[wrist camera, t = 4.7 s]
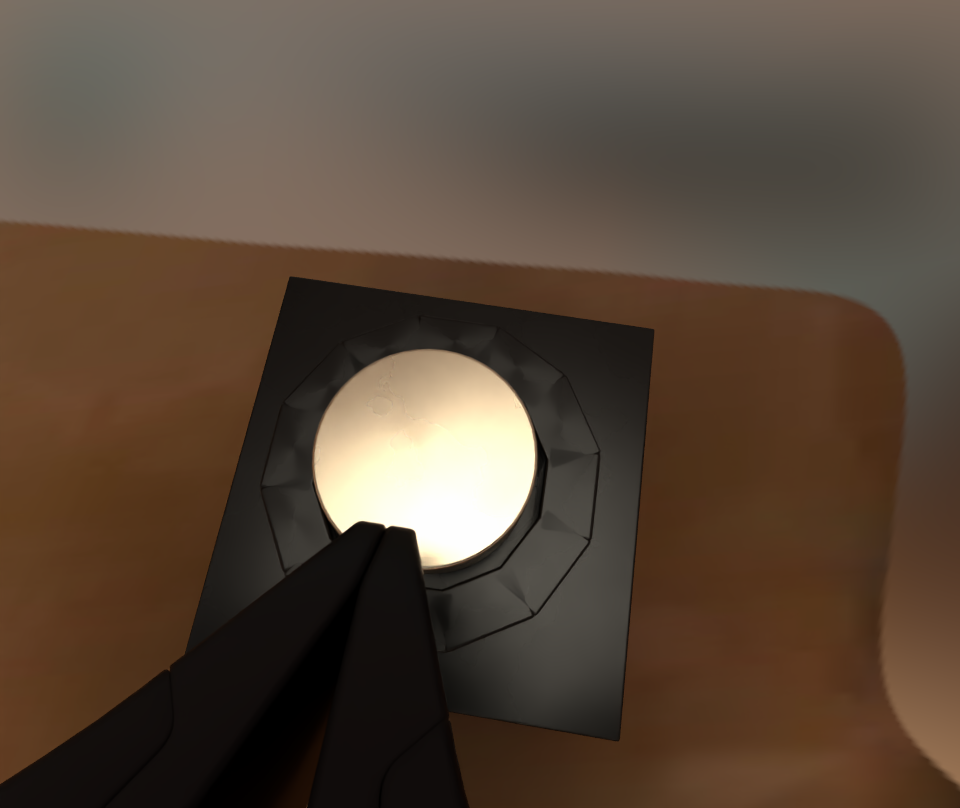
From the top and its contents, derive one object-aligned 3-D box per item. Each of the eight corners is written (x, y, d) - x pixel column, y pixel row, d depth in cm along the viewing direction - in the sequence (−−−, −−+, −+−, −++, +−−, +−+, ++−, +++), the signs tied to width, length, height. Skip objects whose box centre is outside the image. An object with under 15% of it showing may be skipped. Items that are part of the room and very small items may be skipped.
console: (580, 700, 19) (640, 763, 12) (263, 645, 20) (139, 674, 12) (611, 394, 22) (675, 297, 15) (335, 352, 22) (267, 239, 15)
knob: (515, 589, 13) (521, 588, 11) (314, 556, 13) (285, 549, 12) (542, 395, 15) (551, 364, 13) (357, 367, 15) (339, 332, 13)
